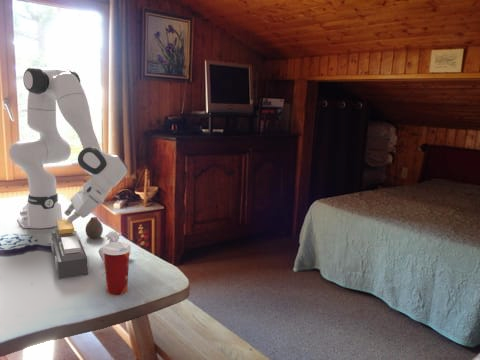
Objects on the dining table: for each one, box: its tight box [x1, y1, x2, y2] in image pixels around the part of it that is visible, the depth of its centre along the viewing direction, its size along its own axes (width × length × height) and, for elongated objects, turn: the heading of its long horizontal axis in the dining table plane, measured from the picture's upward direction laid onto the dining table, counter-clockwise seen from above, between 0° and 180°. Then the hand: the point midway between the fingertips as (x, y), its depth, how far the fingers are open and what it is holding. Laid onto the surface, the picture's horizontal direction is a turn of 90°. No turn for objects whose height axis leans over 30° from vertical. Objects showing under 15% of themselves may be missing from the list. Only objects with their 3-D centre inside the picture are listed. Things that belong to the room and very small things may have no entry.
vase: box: [85, 216, 104, 240], centre depth 170 cm, size 7×7×9 cm
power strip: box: [50, 227, 89, 280], centre depth 146 cm, size 30×9×8 cm, turn 29°
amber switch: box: [56, 218, 75, 234], centre depth 152 cm, size 12×5×2 cm, turn 29°
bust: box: [98, 230, 132, 263], centre depth 150 cm, size 12×8×11 cm
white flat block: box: [61, 236, 81, 254], centre depth 138 cm, size 12×5×2 cm, turn 29°
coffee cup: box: [103, 241, 132, 296], centre depth 125 cm, size 8×8×15 cm
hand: (67, 217), depth 152 cm, fingers open, 8 cm apart
